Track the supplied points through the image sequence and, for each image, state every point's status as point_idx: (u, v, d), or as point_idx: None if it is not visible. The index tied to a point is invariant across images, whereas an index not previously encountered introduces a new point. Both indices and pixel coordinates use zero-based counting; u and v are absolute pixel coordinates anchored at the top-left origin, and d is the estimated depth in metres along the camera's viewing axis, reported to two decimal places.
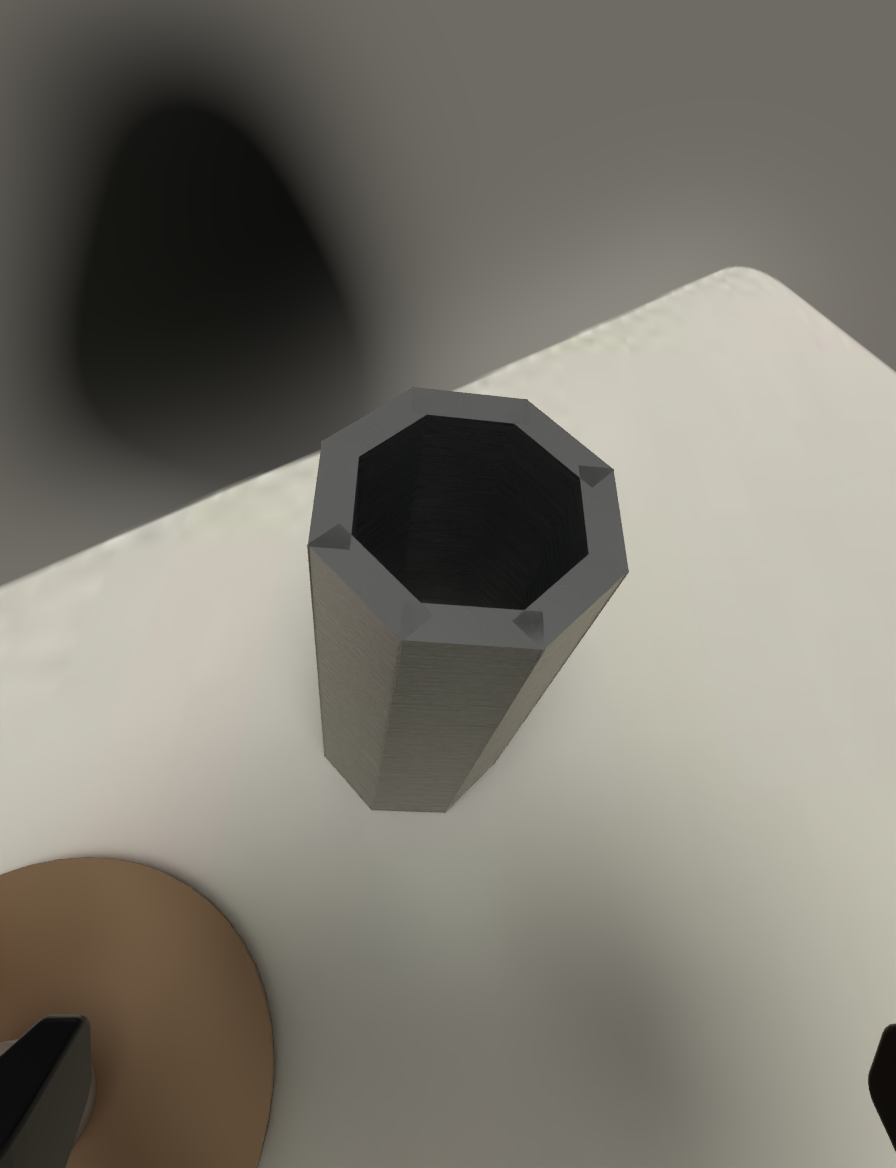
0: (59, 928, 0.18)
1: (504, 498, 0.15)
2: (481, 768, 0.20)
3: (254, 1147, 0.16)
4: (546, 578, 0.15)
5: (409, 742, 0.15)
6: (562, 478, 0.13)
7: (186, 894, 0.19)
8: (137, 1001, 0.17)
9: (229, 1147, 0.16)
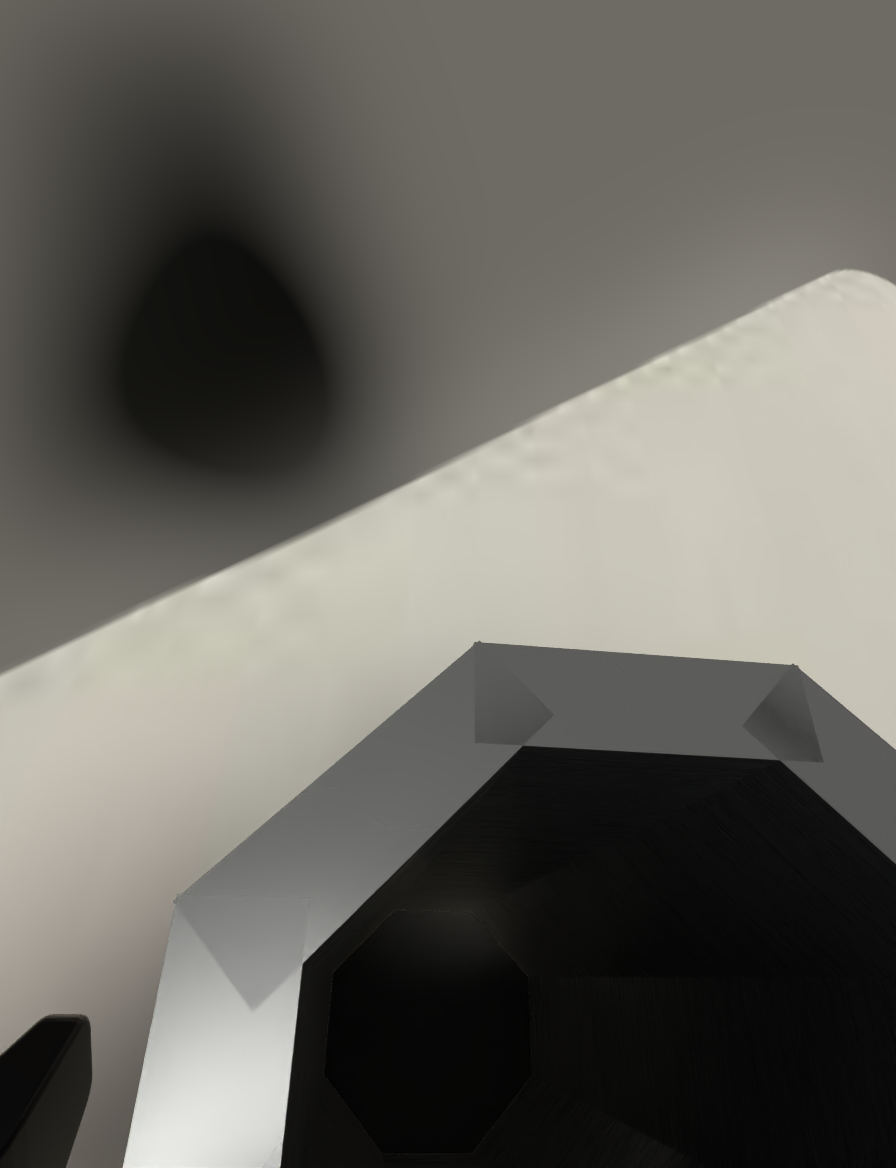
0: None
1: (683, 850, 0.06)
2: None
3: None
4: (795, 1068, 0.06)
5: None
6: None
7: None
8: None
9: None
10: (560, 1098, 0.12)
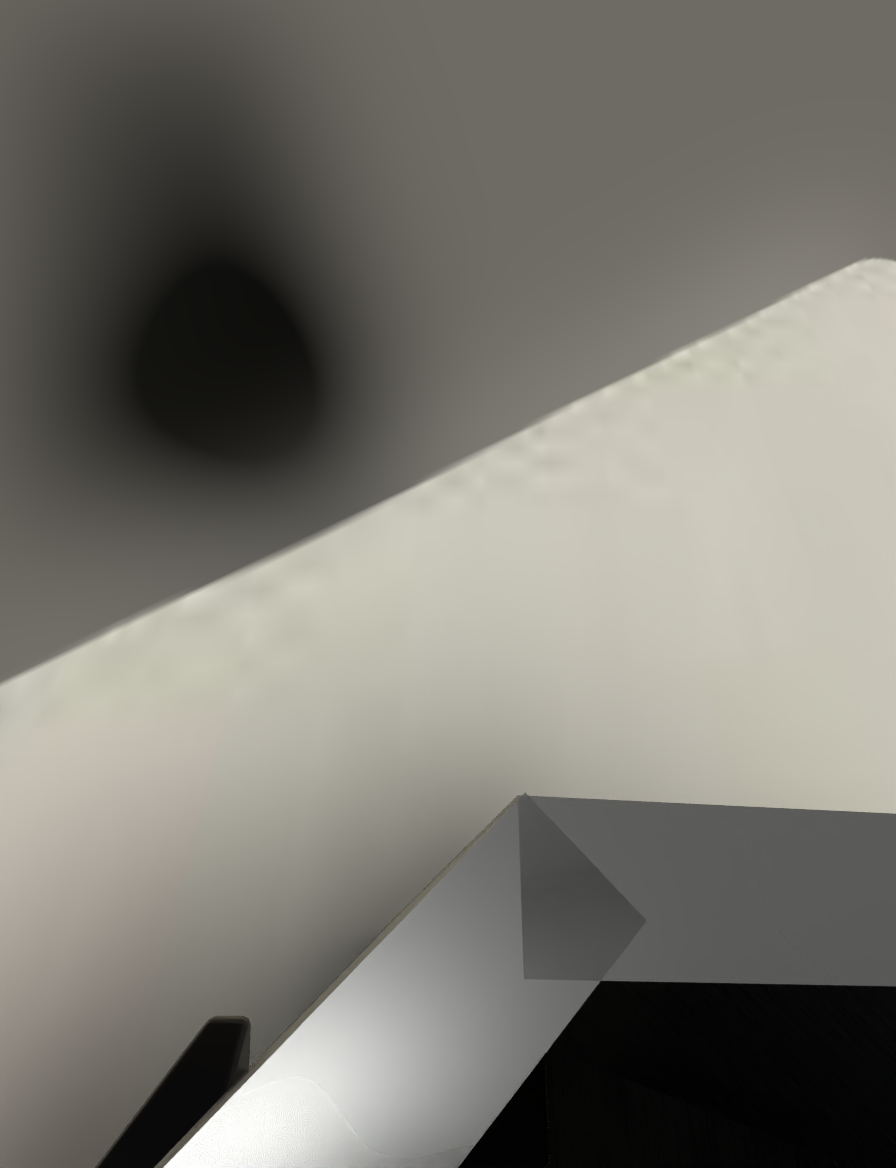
0: None
1: (785, 1022, 0.05)
2: None
3: None
4: None
5: None
6: None
7: None
8: None
9: None
10: None
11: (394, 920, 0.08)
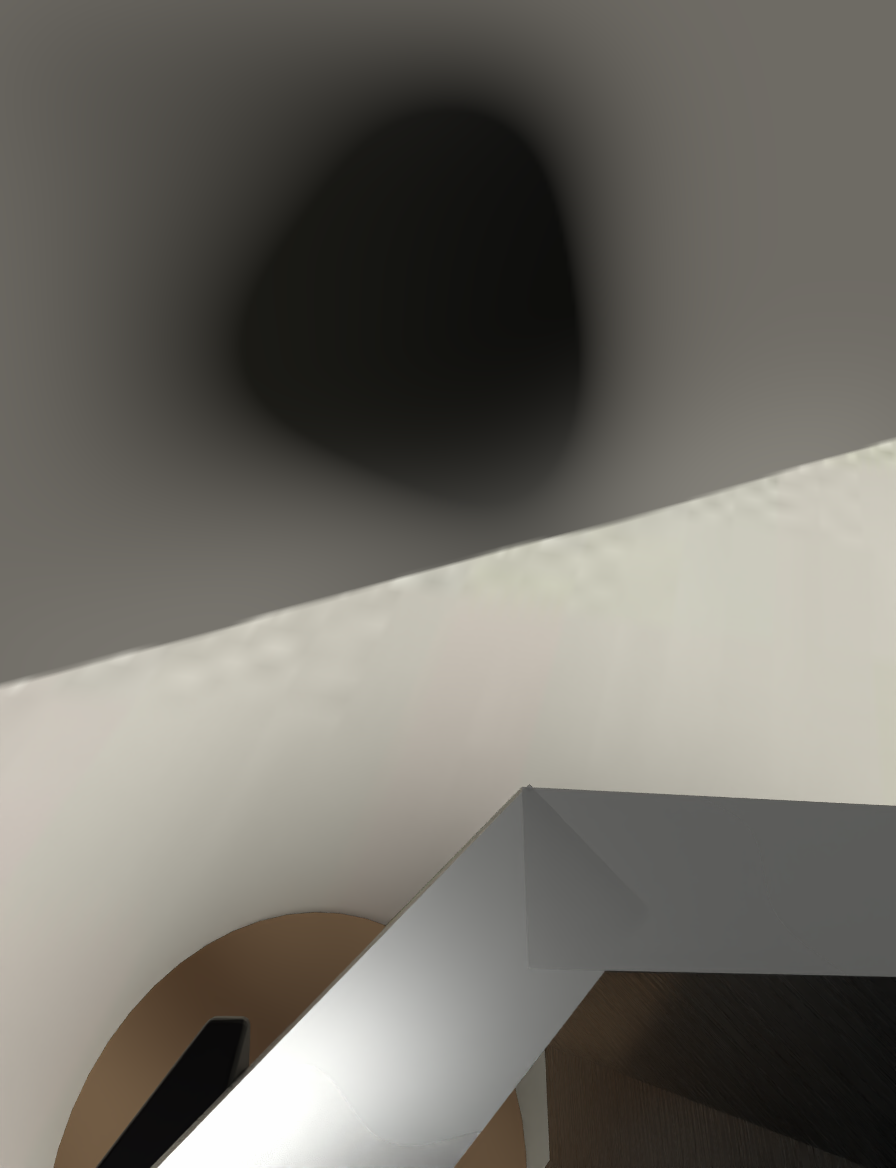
0: None
1: (787, 1016, 0.05)
2: None
3: None
4: None
5: None
6: None
7: None
8: None
9: None
10: None
11: None
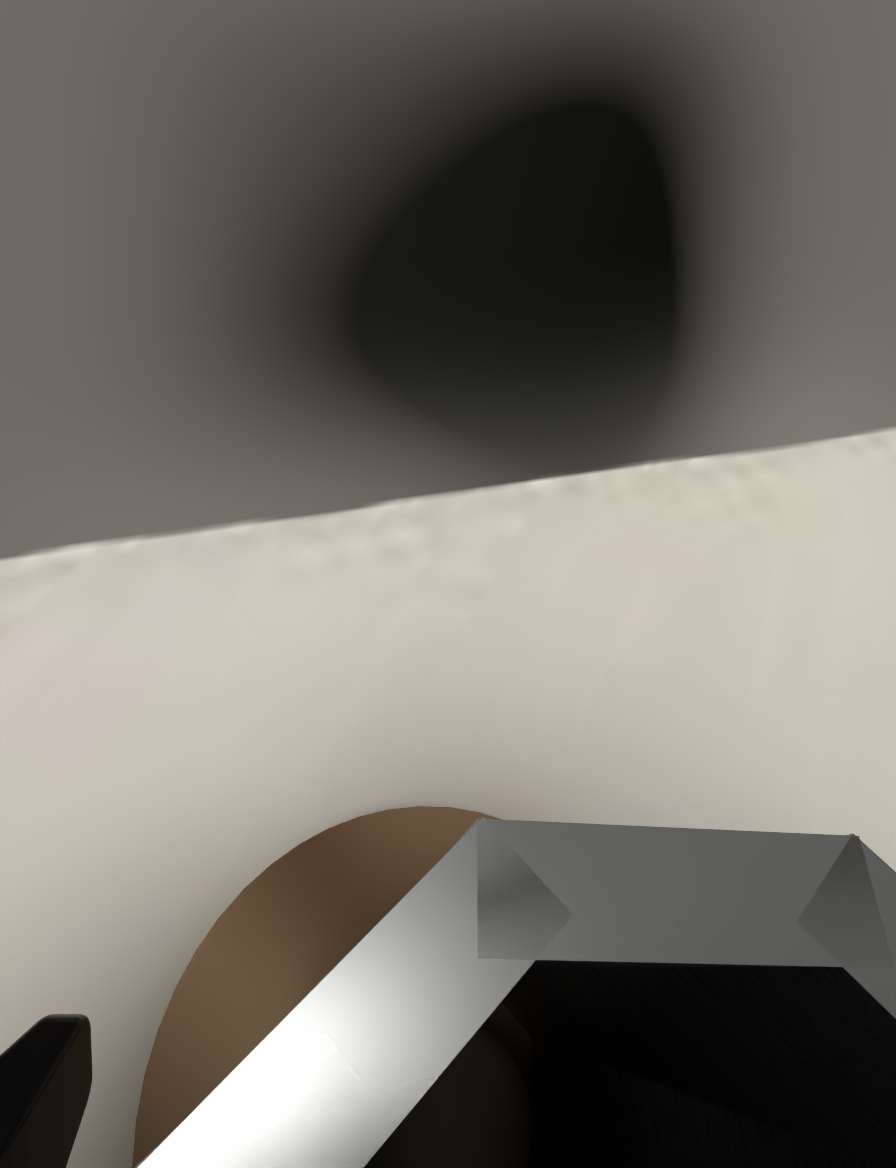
0: None
1: (712, 1001, 0.05)
2: None
3: None
4: None
5: None
6: None
7: None
8: None
9: None
10: None
11: None
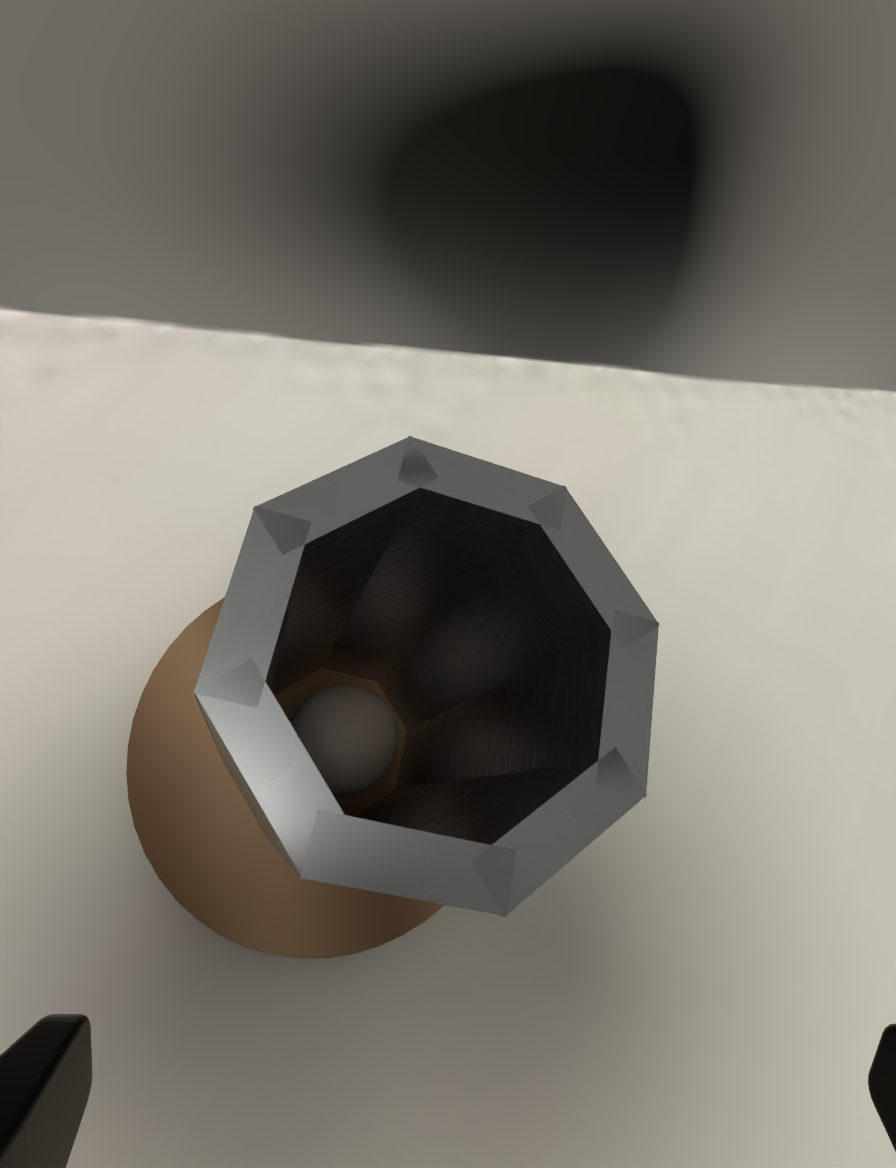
0: None
1: (500, 589, 0.11)
2: None
3: None
4: (529, 707, 0.11)
5: None
6: (587, 617, 0.09)
7: None
8: None
9: None
10: (410, 788, 0.18)
11: None
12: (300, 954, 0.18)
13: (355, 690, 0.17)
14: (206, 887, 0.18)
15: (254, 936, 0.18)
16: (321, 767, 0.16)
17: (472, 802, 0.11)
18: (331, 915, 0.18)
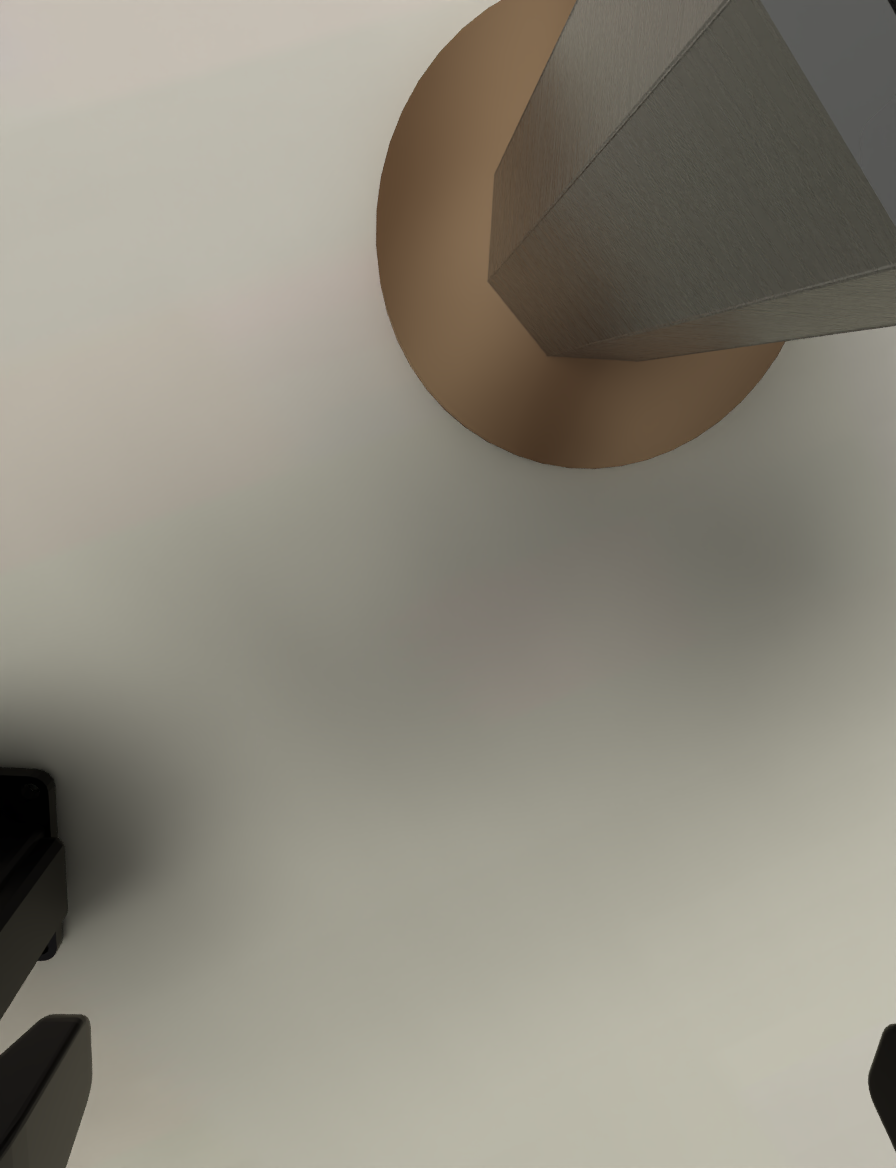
0: None
1: None
2: (621, 352, 0.15)
3: (632, 457, 0.18)
4: None
5: (583, 231, 0.10)
6: None
7: None
8: None
9: (627, 437, 0.18)
10: None
11: None
12: (451, 409, 0.17)
13: None
14: (410, 286, 0.16)
15: (424, 363, 0.17)
16: None
17: None
18: (496, 398, 0.17)
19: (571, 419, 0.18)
